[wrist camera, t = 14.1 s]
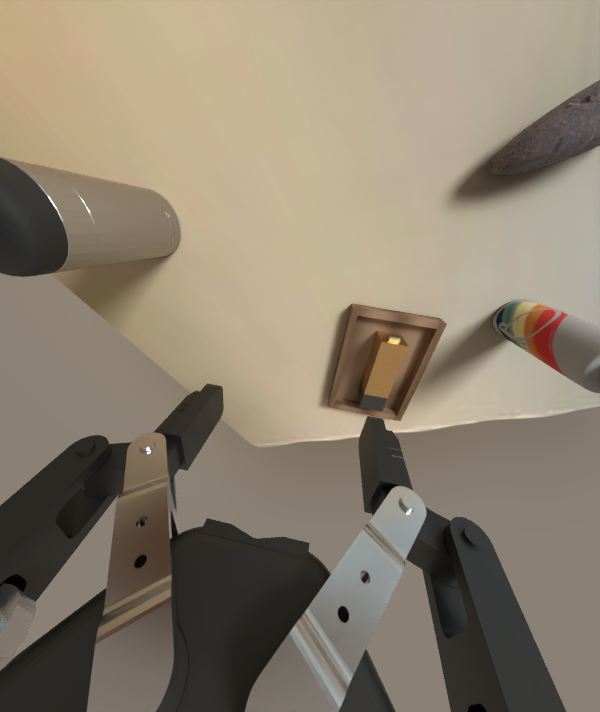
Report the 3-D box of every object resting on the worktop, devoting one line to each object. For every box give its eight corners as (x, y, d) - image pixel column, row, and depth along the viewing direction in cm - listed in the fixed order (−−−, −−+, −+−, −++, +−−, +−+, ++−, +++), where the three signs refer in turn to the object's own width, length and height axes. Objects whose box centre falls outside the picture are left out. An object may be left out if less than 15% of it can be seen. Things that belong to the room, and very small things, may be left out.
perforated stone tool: (477, 196, 29) (515, 187, 23) (472, 146, 27) (512, 122, 20) (643, 121, 24) (746, 84, 18) (652, 54, 22) (772, -14, 16)
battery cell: (357, 391, 44) (359, 407, 40) (378, 326, 38) (383, 337, 34) (378, 395, 44) (382, 411, 40) (403, 330, 37) (410, 342, 33)
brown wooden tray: (328, 398, 47) (328, 406, 45) (352, 303, 37) (352, 308, 35) (397, 412, 46) (400, 421, 44) (440, 318, 36) (446, 324, 34)
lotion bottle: (490, 306, 34) (646, 384, 17) (537, 292, 32) (764, 363, 15) (492, 339, 36) (632, 437, 19) (536, 328, 35) (733, 425, 17)
